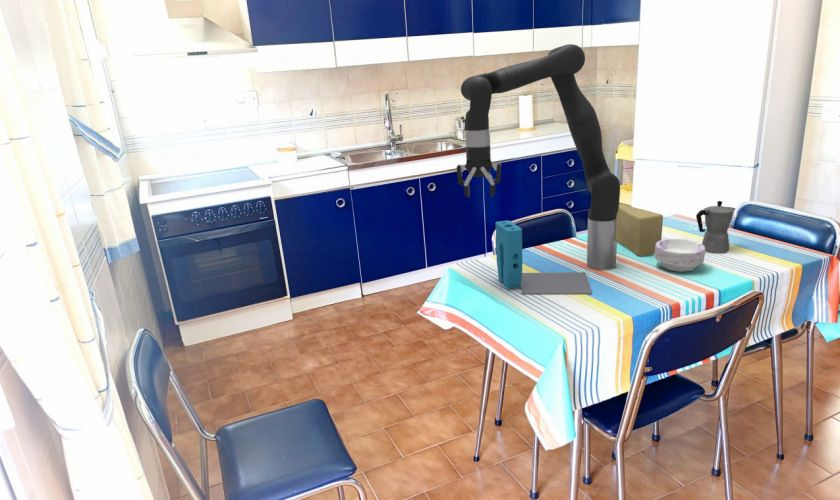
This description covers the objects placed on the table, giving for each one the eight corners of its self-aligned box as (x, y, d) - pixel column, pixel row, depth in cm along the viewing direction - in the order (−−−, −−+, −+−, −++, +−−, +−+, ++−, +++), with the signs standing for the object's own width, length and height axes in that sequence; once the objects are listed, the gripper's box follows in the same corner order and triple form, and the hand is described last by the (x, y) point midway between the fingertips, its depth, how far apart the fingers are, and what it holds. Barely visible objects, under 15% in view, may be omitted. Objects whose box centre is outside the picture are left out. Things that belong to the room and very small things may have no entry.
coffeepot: (721, 243, 208) (726, 196, 202) (740, 250, 199) (746, 201, 194) (684, 248, 205) (688, 201, 199) (702, 256, 196) (707, 207, 191)
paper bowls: (709, 275, 181) (711, 252, 178) (659, 275, 183) (661, 252, 181) (695, 259, 195) (697, 237, 192) (649, 259, 198) (651, 238, 195)
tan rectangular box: (602, 240, 221) (603, 203, 216) (623, 237, 223) (625, 200, 218) (638, 257, 200) (641, 217, 195) (661, 253, 203) (664, 213, 198)
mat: (585, 273, 190) (585, 272, 190) (592, 294, 173) (592, 293, 173) (520, 273, 193) (520, 272, 193) (521, 294, 176) (521, 293, 176)
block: (523, 289, 180) (522, 229, 174) (508, 291, 179) (507, 231, 173) (510, 276, 192) (509, 220, 185) (496, 278, 191) (494, 222, 184)
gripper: (501, 141, 175) (502, 193, 180) (455, 143, 177) (458, 194, 182) (501, 145, 168) (502, 199, 173) (453, 147, 170) (456, 200, 175)
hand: (479, 196), depth 178 cm, fingers open, 7 cm apart
